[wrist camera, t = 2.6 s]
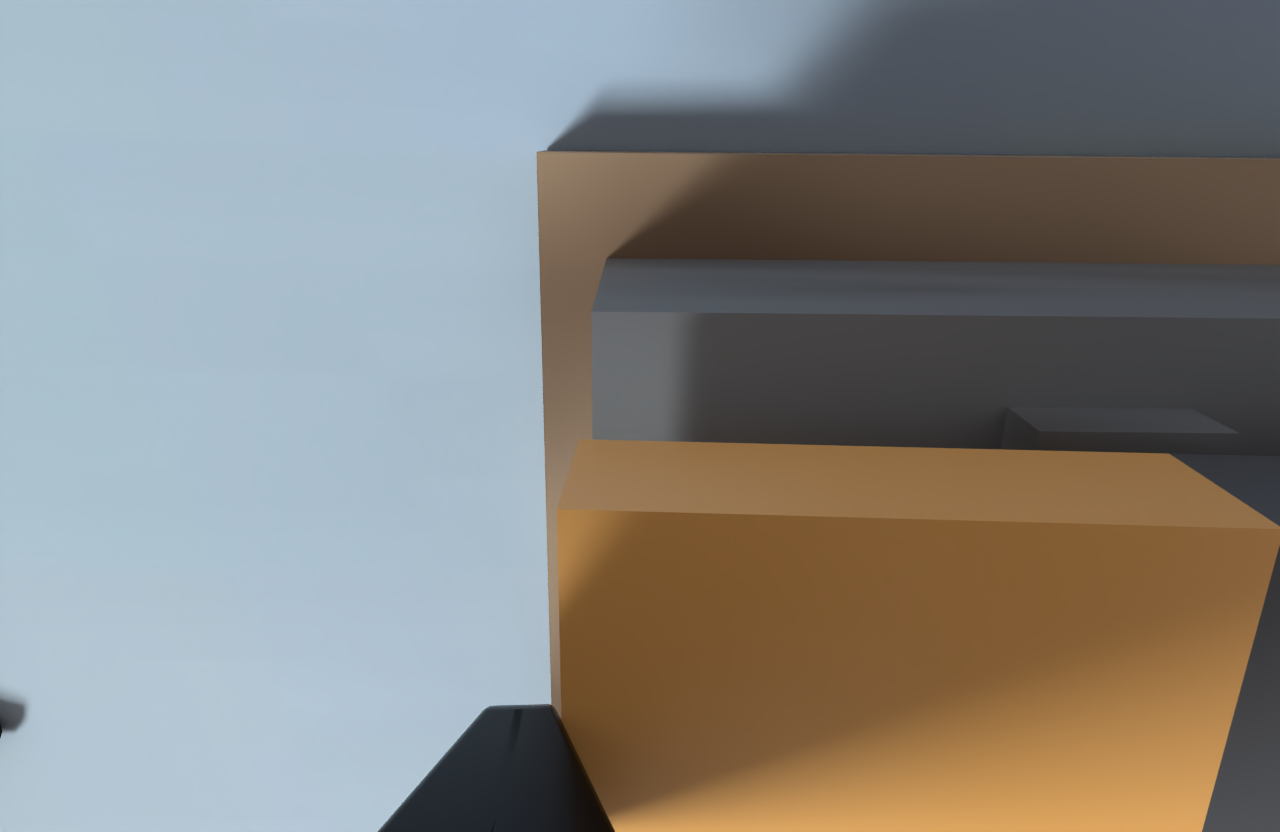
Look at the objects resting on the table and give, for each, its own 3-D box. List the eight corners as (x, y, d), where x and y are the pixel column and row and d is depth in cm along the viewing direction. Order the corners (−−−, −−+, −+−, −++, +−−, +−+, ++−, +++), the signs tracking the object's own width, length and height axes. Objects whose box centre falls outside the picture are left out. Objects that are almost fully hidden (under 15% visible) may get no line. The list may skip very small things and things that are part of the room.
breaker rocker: (1792, 469, 8) (2062, 550, 6) (1592, 896, 9) (1769, 1044, 8) (579, 439, 8) (556, 509, 7) (584, 852, 10) (568, 985, 8)
